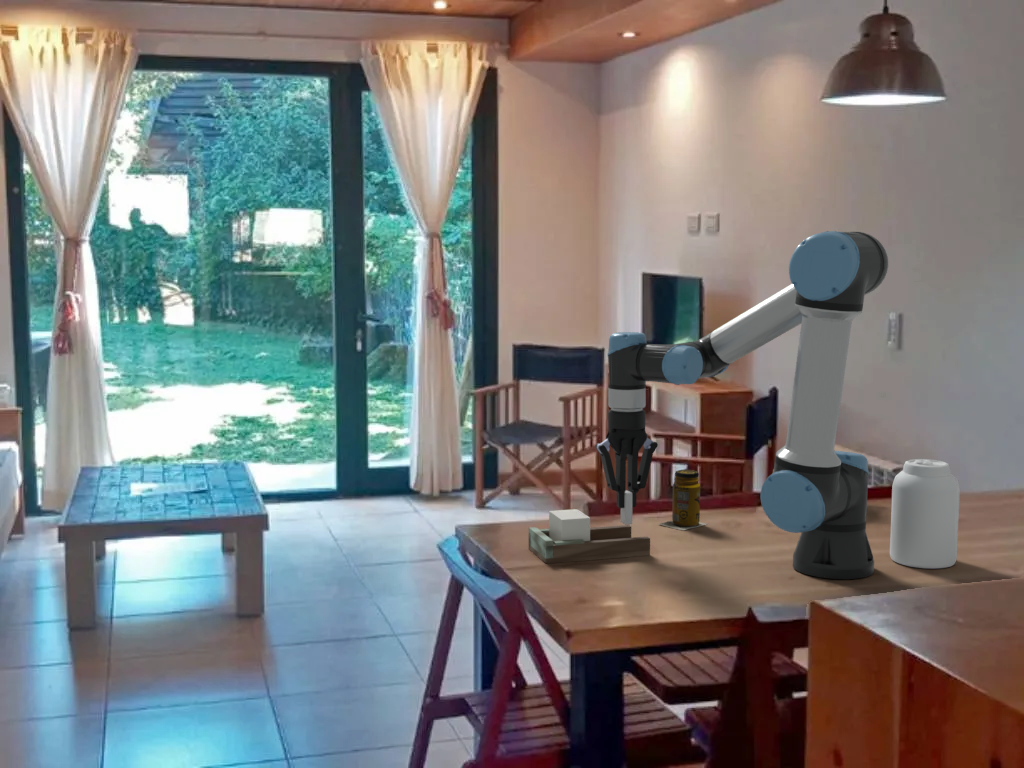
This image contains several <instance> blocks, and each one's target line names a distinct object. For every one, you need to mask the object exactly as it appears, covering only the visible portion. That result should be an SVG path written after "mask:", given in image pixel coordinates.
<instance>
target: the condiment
mask: <svg viewBox="0 0 1024 768" xmlns="http://www.w3.org/2000/svg"><path fill="white" fill-rule="evenodd" d="M699 476H700V473H699V472H698V471H696V470H693V469H678V470H676V471H675V472H674V482H673V483H672V516H671V517H672V518H671V519H672V520H668V521H665V522H660V523H658V525H661V526H663V527H667V528H671V529H673V530H674V529H675V530H678V531H679V530H680V531H686V530H689V529H690V530H691V529H694V528H699V527H702V526H706V525H707V523H705V522H700V516H701V515H700V514H701V513H700V510H701V506H700V505H701V484H700V483H699V481H700V478H699Z"/></svg>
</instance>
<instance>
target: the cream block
mask: <svg viewBox="0 0 1024 768" xmlns="http://www.w3.org/2000/svg"><path fill="white" fill-rule="evenodd" d="M548 512H549V513H548V528H549V538H550V539H552V540H553V541H562V540H575V539H583V540H584V541H590V528H591V517H590V516H588V515H587V514H585V513H584V512H582V511H580V510H579V509H577V508H576V509H575V508H573V509H559V510H549V511H548Z"/></svg>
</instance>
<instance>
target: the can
mask: <svg viewBox="0 0 1024 768" xmlns="http://www.w3.org/2000/svg"><path fill="white" fill-rule="evenodd" d="M902 467H903V469H902V470H901V471H900V472H898V473H897V474H896V475H895V477H894V479H893V481H892V482H893V483H892V484H891V485H892V487H891V488H892V489H891V509H890V510H891V511H890V512H891V514H890V515H891V516H890V536H889V537H890V541H889V557H890V558H891V560H892V561H894V562H895V563H897V564H899V565H903V566H905V567H906V566H907V567H911V568H915V569H924V570H925V569H927V570H928V569H932V570H935V569H946V568H949V567H952V566H955V564H956V561H957V560H958V559H957V556H958V540H959V539H958V537H959V536H958V534H959V517H960V516H959V512H960V495H961V494H960V493H961V491H960V490H961V488H960V487H961V486H960V484H959V480H958V479H957V477H955V476H954V475H953V474H952V473H951V467H950V465H949V463H948V462H945V461H942V460H938V459H937V460H936V459H930V458H929V459H928V458H917V459H915V458H913V459H908V460H906V461H905V462H904V464H903V465H902Z"/></svg>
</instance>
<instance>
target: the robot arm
mask: <svg viewBox="0 0 1024 768" xmlns="http://www.w3.org/2000/svg"><path fill="white" fill-rule="evenodd" d="M888 268H889V257H888V253H887V250H886V249H885V247H884V245H883V243H882V242H880V240H879V239H877V238H876V237H874V236H873V235H871V234H868V233H865V232H863V231H862V232H861V231H836V230H833V231H828V230H827V231H823V232H818V233H815V234H812V235H810V236H808V237H806V238H805V239H803V241H801V242H800V243H799V244H798V245H797V246H796V248H794V251H793V252H792V254H791V257H790V260H789V266H788V275H789V280H790V284H789V285H787V286H786V287H784V288H782V289H780V290H778V291H777V292H775V293H774V294H772V295H771V296H769V297H767V298H766V299H764V300H763V301H761V302H759V303H757V304H755V305H754V306H752V307H751V308H749V309H747V310H745V311H744V312H742V313H741V314H738V315H737V316H736V317H734V318H732V319H731V320H728V322H726V323H724V324H722V325H721V326H719V327H717V328H716V329H715V330H712V332H710V333H707V334H706V335H705V336H703V337H701V338H700V339H697V340H694V341H688V342H680V343H673V344H672V343H671V344H659V343H658V344H657V343H655V344H653V343H647V336H646V334H645V333H644V332H638V331H637V332H635V331H621V332H620V331H619V332H614V333H612V334H611V335H609V338H608V353H607V358H608V359H607V362H608V387H607V393H608V394H607V396H608V399H607V400H608V402H607V403H608V404H607V405H608V407H609V408H610V409H608V411H607V417H608V418H607V421H608V422H607V428H608V431H607V434H606V436H605V439H603V441H602V442H600V443H599V442H598V443H596V444H595V449H596V450H597V452H598V453H599V455H600V460H601V463H602V468H603V472H604V476H605V477H604V478H605V481H606V484H607V488H608V489H610V490H612V491H615V492H616V507H617V508H619V509H620V523H622V524H623V525H630V526H631V525H633V508H636V507H637V494H638V493H639V492H640V490H641V489H645V488H646V485H647V481H648V477H649V472H650V467H651V464H652V459H653V454H654V452H655V451H656V450H657V448H658V442H656V441H654V440H651V439H650V438H649V437H648V434H647V432H646V410H645V408H646V405H647V403H646V402H647V401H646V399H647V398H646V392H647V391H646V389H647V388H646V383H647V382H651V383H652V382H654V383H665V384H672V385H673V384H674V385H676V386H679V385H693V384H695V383H696V382H697V380H698V379H703V378H713V377H715V376H718V375H719V374H720V375H721V374H723V373H724V372H725V371H726V370H728V368H729V366H730V365H731V364H733V363H735V362H736V361H738V360H740V359H742V358H743V357H745V356H747V355H748V354H750V353H753V351H756V350H758V349H759V348H761V347H763V346H765V345H766V344H768V343H770V342H772V341H773V340H775V339H777V338H778V337H781V336H782V335H784V334H786V333H788V332H789V331H791V330H792V329H794V328H796V327H798V326H800V332H799V338H798V339H799V341H798V347H797V354H796V355H797V356H796V362H795V363H796V364H795V371H794V378H793V385H792V392H791V401H790V407H789V416H788V424H787V431H786V433H787V434H786V440H785V444H784V446H782V447H781V448H780V449H778V450H777V451H776V452H775V459H774V465H773V466H774V467H773V470H774V473H773V472H772V473H771V474H769V476H768V477H767V478H766V479H765V480H764V482H763V483H762V486H761V489H760V494H759V495H760V503H761V507H762V510H763V512H764V513H765V515H766V516H767V518H768V519H769V520H770V522H771V524H773V525H774V526H776V527H777V528H778V529H781V530H783V531H785V532H788V533H792V534H796V533H797V534H799V533H800V536H799V538H798V541H797V544H796V546H795V550H794V552H793V555H792V568H793V569H794V570H796V572H797V571H798V572H799V573H802V574H804V575H807V576H813V577H815V578H822V579H831V580H854V579H862V578H866V577H869V576H871V575H873V574H874V572H875V559H874V556H873V552H872V548H871V545H870V541H869V538H868V535H867V532H866V531H867V513H868V512H867V510H868V509H867V507H868V491H869V490H868V489H869V487H868V486H869V485H868V484H869V474H870V471H869V467H868V466H869V460H868V457H866V456H865V455H863V454H862V453H857V452H850V451H844V450H835V446H836V440H837V438H836V437H837V431H838V424H839V419H840V417H839V416H840V410H841V401H842V395H843V388H844V387H843V386H844V382H845V381H844V380H845V374H846V373H845V372H846V366H847V359H848V352H849V344H850V338H851V329H852V323H853V320H854V319H855V318H856V317H858V316H859V315H860V314H862V313H863V309H864V301H865V296H866V295H868V294H870V293H872V292H874V291H875V290H877V288H878V287H880V285H881V284H882V283H883V281H884V280H885V278H886V276H887V273H888ZM610 447H611V449H612V450H613V452H614V457H615V471H614V467H613V463H612V458H611V454H610ZM642 448H643V451H642V455H641V458H640V463H639V467H638V461H639V452H640V450H641V449H642ZM834 450H835V451H834ZM626 461H627V463H626ZM626 464H627V465H626ZM626 466H627V467H626ZM626 468H627V469H626ZM626 471H627V472H626ZM626 474H627V478H626ZM626 480H627V482H626ZM626 483H627V487H626ZM626 488H627V489H628V490H627V489H626Z"/></svg>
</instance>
